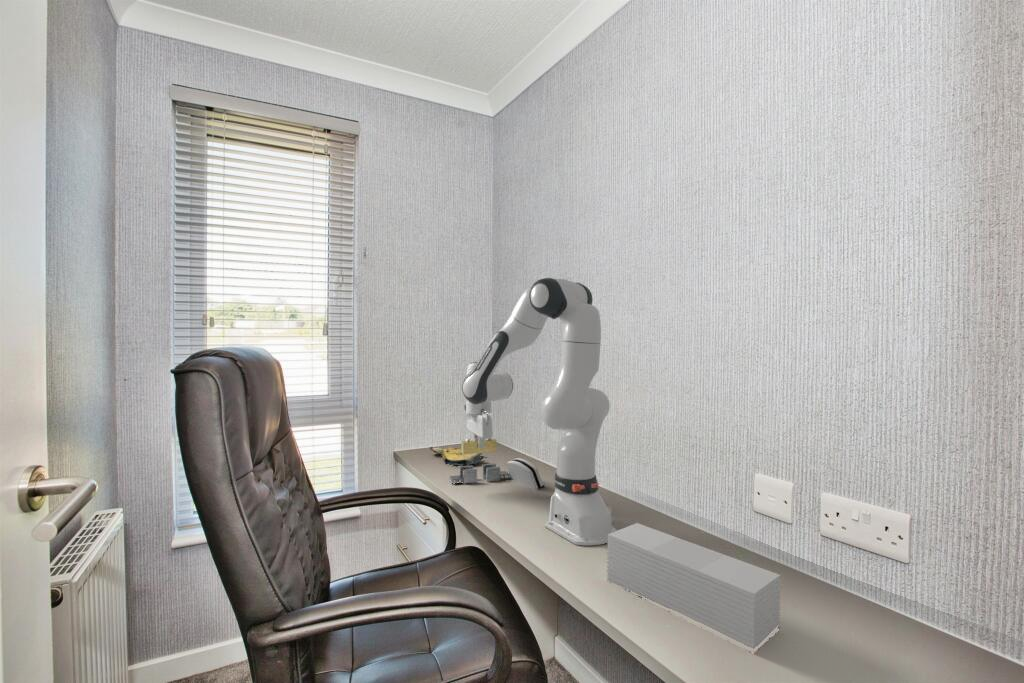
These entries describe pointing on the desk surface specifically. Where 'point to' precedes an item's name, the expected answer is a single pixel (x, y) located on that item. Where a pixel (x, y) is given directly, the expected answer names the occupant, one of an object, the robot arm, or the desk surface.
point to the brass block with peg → (472, 446)
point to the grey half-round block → (524, 473)
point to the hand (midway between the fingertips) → (479, 447)
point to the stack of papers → (696, 582)
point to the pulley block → (457, 456)
